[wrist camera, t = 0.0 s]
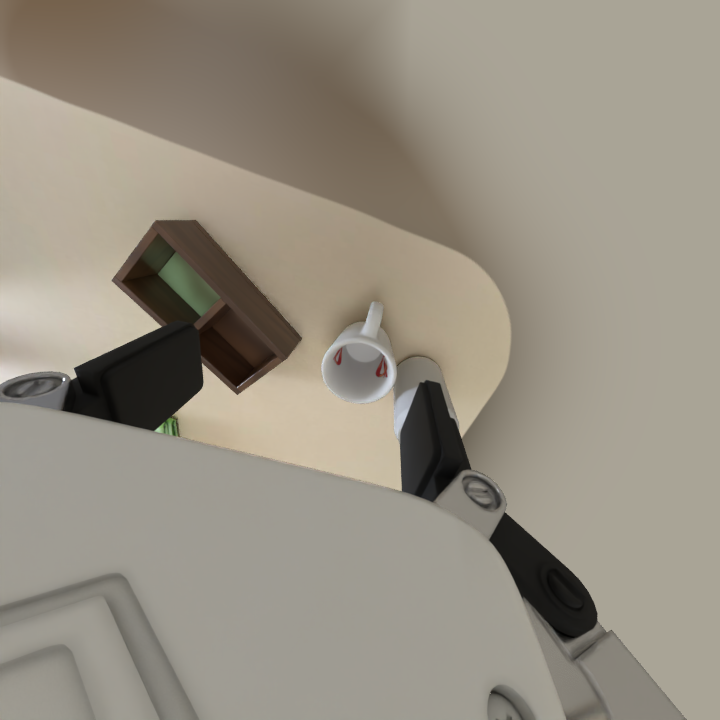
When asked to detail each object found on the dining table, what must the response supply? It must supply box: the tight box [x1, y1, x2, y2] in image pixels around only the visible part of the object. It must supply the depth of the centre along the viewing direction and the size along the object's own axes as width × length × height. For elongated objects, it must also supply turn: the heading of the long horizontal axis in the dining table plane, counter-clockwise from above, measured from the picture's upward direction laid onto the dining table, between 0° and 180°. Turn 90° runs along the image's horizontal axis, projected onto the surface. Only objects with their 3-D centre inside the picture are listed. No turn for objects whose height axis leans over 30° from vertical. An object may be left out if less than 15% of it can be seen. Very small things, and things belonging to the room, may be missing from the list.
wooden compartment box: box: [112, 220, 302, 395], centre depth 31 cm, size 9×18×6 cm, turn 38°
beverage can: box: [394, 357, 459, 444], centre depth 31 cm, size 6×6×12 cm
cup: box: [321, 302, 397, 404], centre depth 30 cm, size 11×8×8 cm
